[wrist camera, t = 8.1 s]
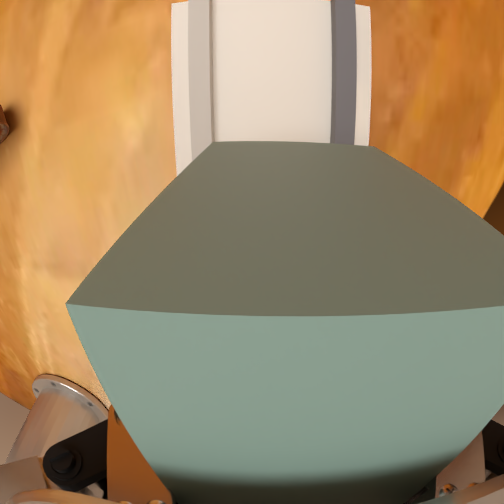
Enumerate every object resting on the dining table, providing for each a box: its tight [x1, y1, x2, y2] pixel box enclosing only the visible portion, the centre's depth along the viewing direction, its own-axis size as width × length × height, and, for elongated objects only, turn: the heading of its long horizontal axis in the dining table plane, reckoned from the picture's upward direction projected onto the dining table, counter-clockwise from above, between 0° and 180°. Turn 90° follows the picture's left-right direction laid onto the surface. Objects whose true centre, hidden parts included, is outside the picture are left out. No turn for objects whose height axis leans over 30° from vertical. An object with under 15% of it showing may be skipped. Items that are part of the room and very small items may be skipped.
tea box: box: [66, 141, 504, 504], centre depth 8 cm, size 5×11×8 cm, turn 1°
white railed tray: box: [171, 0, 371, 176], centre depth 21 cm, size 28×12×3 cm, turn 1°
